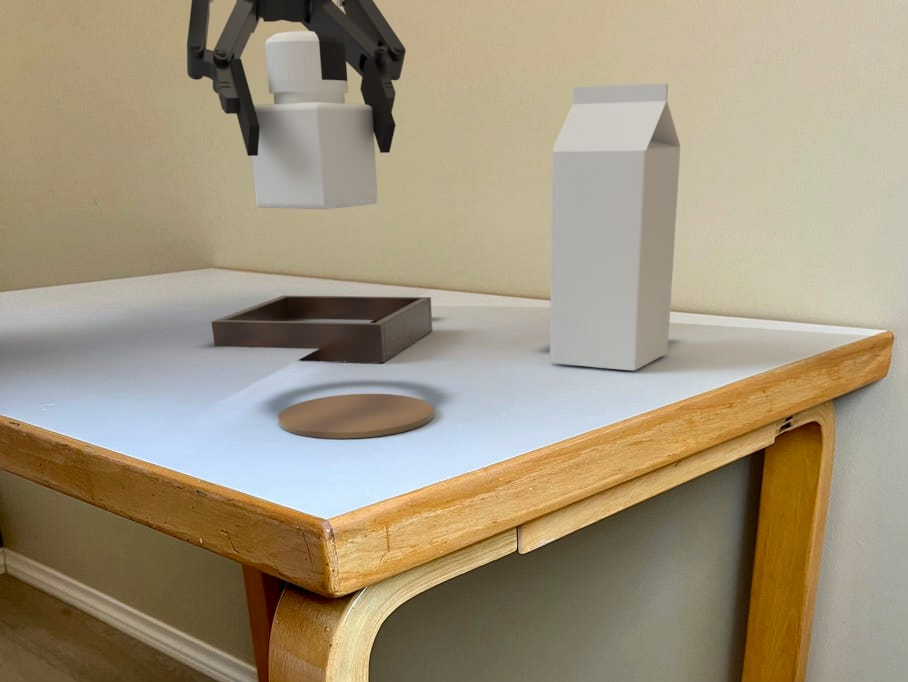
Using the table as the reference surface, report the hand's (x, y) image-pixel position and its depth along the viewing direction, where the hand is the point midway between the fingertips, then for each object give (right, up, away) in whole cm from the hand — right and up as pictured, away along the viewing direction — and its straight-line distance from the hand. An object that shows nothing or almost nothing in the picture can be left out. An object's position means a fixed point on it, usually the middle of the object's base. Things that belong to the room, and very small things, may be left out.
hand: (322, 140), depth 76 cm
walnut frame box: (-1, -12, +12) cm, 17 cm away
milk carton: (+22, -16, +3) cm, 28 cm away
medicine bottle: (-1, -3, +5) cm, 6 cm away
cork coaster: (+4, -24, -11) cm, 27 cm away
